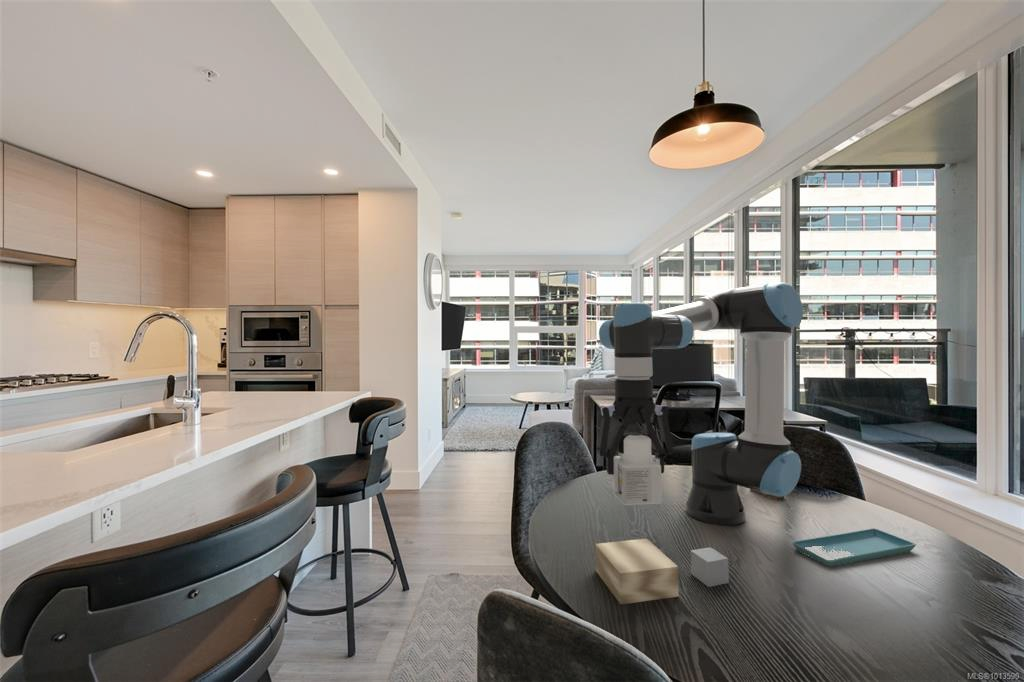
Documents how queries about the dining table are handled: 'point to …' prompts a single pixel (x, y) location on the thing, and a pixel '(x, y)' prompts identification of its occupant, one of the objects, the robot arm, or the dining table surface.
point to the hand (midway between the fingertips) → (635, 489)
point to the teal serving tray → (857, 546)
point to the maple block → (636, 571)
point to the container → (637, 471)
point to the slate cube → (709, 566)
